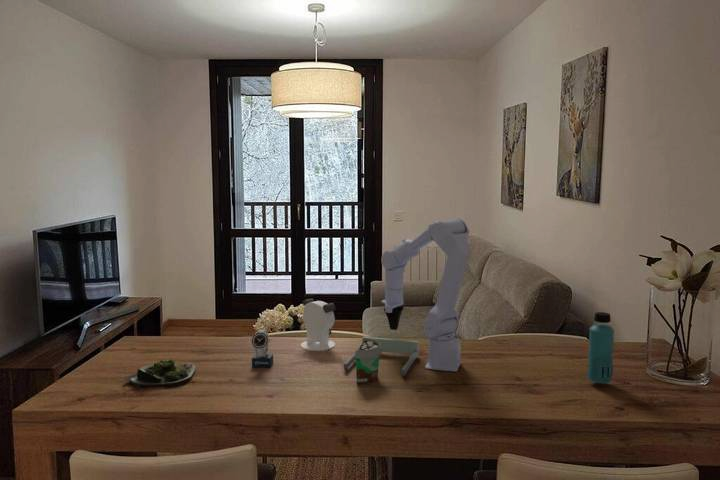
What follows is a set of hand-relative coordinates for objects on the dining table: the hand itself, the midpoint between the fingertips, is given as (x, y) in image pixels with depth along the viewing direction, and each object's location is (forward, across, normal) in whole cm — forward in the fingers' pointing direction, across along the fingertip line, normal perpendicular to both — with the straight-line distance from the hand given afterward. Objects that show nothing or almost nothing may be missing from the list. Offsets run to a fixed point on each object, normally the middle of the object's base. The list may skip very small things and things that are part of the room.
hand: (393, 329), depth 193 cm
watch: (+7, +26, -34) cm, 43 cm away
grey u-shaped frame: (+7, +14, 0) cm, 16 cm away
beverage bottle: (+7, +13, +61) cm, 63 cm away
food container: (+7, +27, 0) cm, 28 cm away
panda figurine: (+7, +3, -25) cm, 26 cm away
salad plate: (+8, +43, -57) cm, 72 cm away
